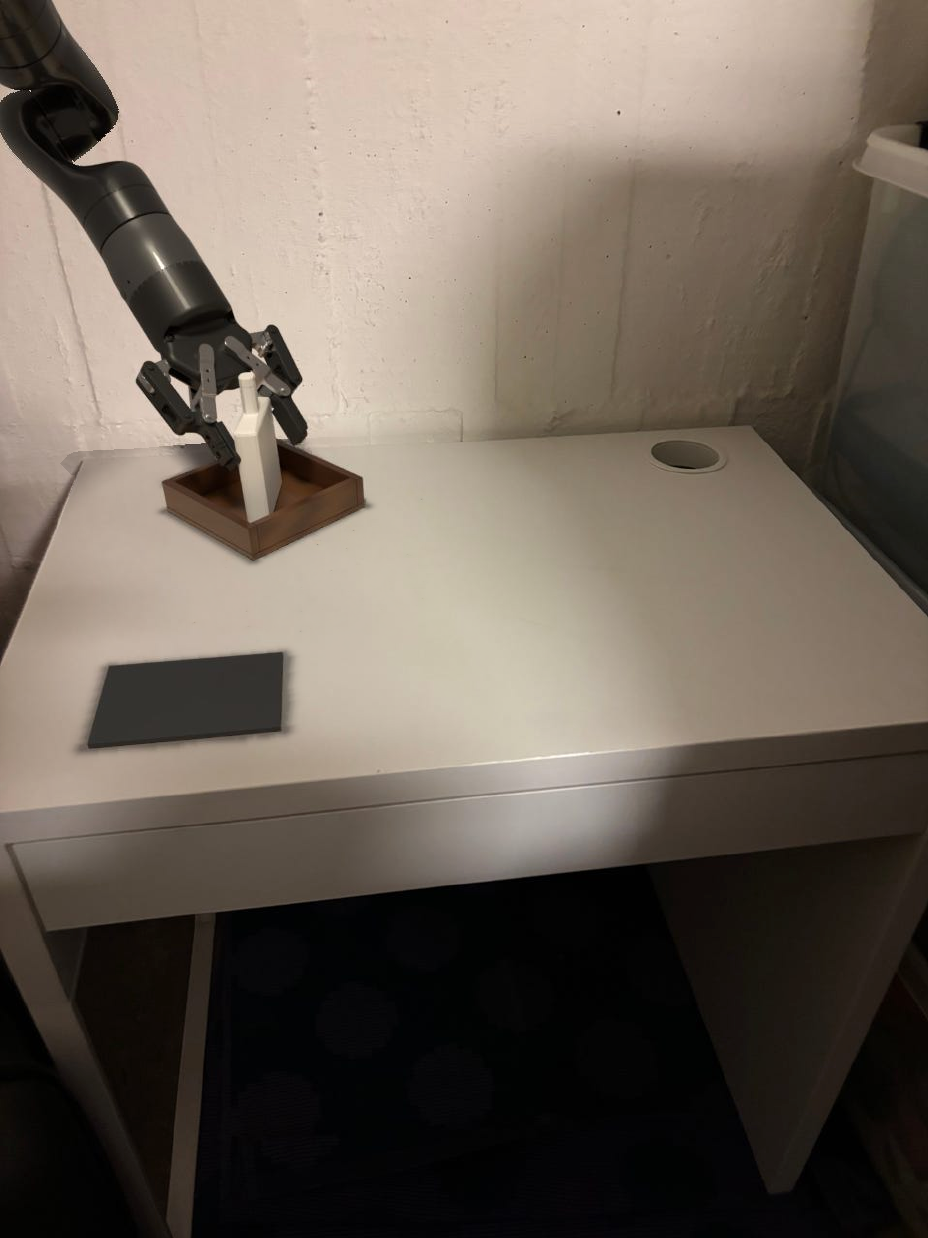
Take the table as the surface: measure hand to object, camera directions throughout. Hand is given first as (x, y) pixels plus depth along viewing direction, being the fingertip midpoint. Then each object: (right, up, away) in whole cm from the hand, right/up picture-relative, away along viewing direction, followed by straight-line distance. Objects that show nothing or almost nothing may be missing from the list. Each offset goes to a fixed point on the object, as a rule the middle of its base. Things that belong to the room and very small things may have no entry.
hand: (270, 452), depth 80 cm
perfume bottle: (-1, -4, +4) cm, 6 cm away
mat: (-2, -20, -17) cm, 26 cm away
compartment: (-1, -4, +4) cm, 6 cm away
